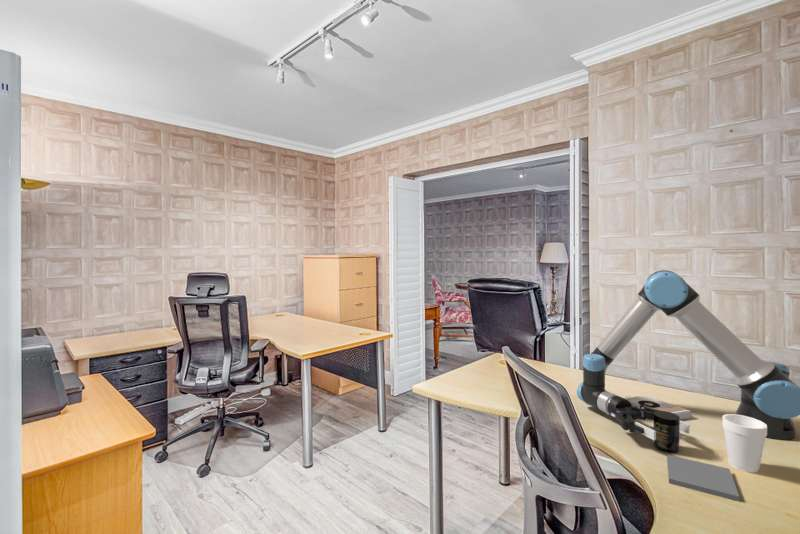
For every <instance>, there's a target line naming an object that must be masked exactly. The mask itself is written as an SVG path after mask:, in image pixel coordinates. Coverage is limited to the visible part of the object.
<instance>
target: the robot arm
mask: <svg viewBox="0 0 800 534" xmlns="http://www.w3.org/2000/svg"><path fill="white" fill-rule="evenodd" d="M700 297H701V295H700V294H699V293H698V292H697V291H696V290H695V289H694V288H692V287H691V285H690V284H689V283H687V282H686V280H685V279H684V278H683V277H682V276H680V275H679V274H678V273H676V272H674V271H671V270H663V269H662V270H659V271H658V270H657V271H655V272H653V273H651V274H650V275H649V276H648V277H647V278H646V281H645V283H644V285H643V287H642V288H641V289H640V291H639V292H638V293H637V299H636V300H635V301H634V302H633V303H632V305H631V306H630V307H629V308H628V309H627V311H626V312H625V313H624V314H623V316H621V318H620V319H619V320H618V322H616V324H615V325H614V326H613V328H611V330H610V331H609V332H608V333H607V334H606V335H605V337H604V338H603V339H602V340H601V341H600V343H599V344H598V345H597V347H596V348H595V349H594V350H593V351H592V352H591V353H587V354H584V355H583V358H582V360H583V361H582V373H583V374H582V375H583V377H582V382H581V383H579V384H578V386H577V389H576V395H577V398H578V399H579V400H580V401H581V402H583V403H585V404H586V405H588V406H591V407H593V408H595V409H598V410H600V411H601V412H603V413H605V414H606V415H608V416H611V419H613V420H614V421H615V422H617V424H618V425H619V426H620V427H621V429H623V430H624V431H628V430H629V433H632V434H633V433H635V432H637V433H638V434H640V435H643V436H645V437H647V438H649V439H650V440H656V431H655V430H654V429H652V428H650V427H649V426H646V425H644V424H642V423H639V422H638V421H635V420H641V421H646V420H649V421H654V419H653V413H654V412H655V411H660V410H656V409H652V408H648V407H645V406H642V405H640V408H638V407H636V406H634V405H633V404H631V402H630V400H628V399H626V398H624V397H622V396H620V395H617V394H615V393H613V392H611V391H608V390H606V372H607V369H608V367H610V364H612V363H613V361H615V359H616V358H617V357H618V355H620V354H621V352H622V351H623V350H624V349H625V347H627V345H628V344H629V343H630V342H631V341H632V339H634V337H636V335H638V333H640V331H641V330H642V328H644V326H645V325H646V324H647V323H648V321H650V319H651V318H652V317H653V316H654V315H656V313H657V311H662V312H663V314H664V315H666V316H667V317H671V318H674V319H675V318H676V319H677V320H678V322H680V323H681V325H683V326H684V327H685V328H686V329H687V330H688V331H689V332H690V333H691V334H692V335H693V336H694V337H695V338H696V339H697V340H698V341H699V342H700V344H702V345H703V346H704V347H705V348H706V349H707V350H708V351H709V352H710V353H711V354H712V355H713V356H714V357H715V358H716V359H717V360H718V361H720V362H721V363H722V364H723V365H724V367H726V368H727V369H728V371H729V372H731V373H732V374H733V375H734V376H735V380H734V382H735V383H734V384H735V385H737V386H738V387H739V388H740V403H739V405H738V407H737V409H736V412H735V413H734V414H736V415H743V416H747V417H751V418H755V419H757V420H760V421H762V422H764V423H765V424H767V436H766V438H769V439H775V440H791V439H792V440H793V439H795V438H796V434H797V429H796V428H795V425H794V421H793V420H792V419H793V418H797V417H798V416H800V386H799V385H797V384H796V383H795V382H793V381H792V379H790V375H791V372H790V368H789V366H788V365H786V364H783V363H778V362H772V361H764V360H762V359H761V358H760V357H759V356H758V355H757V354H756V353H754V352H753V350H751V349H750V348H749V347H748V346H747V345H746V344H745V343H744V342H743V341H742V340H741V339H740V338H739V337H737V336H736V334H735V333H733V332H732V331H731V330H730V329H729V328H728V327H727V326H726V325H725V324H724V323H723V322H721V321H720V320H719V319H718V318H717V316H715V315H714V314H713V313H712V312H711V311H710V310H709V309H708V308H707V307H706V306H704V304H702V303H701V302H700ZM642 415H643V416H642ZM634 421H635V422H634ZM690 426H691V425H690V423H687V422H684V421H683V420H680V431H682V432H684V433H685V434H691V433H690V430H691V427H690Z"/></svg>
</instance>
